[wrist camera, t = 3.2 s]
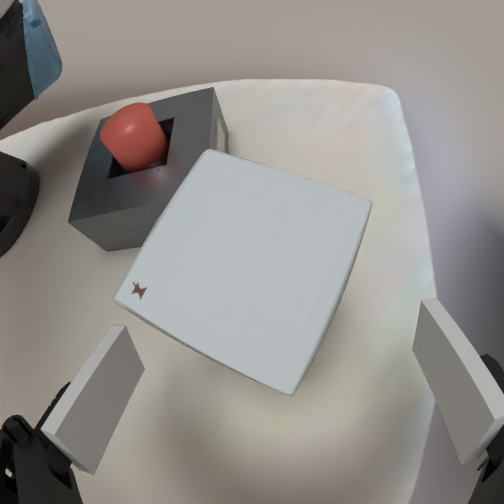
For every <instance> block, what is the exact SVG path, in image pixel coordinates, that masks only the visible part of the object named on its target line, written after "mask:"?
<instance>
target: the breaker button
mask: <svg viewBox="0 0 504 504" xmlns="http://www.w3.org/2000/svg"><path fill="white" fill-rule="evenodd" d="M100 139H101V141H102V142H103V143H104V145H105V146H106V147H107V149H108V150H109V151H110V152H111V154H112V155H113V156H114V157H115V159H116V160H117V161H118V163H119V164H120V165H121V166H122V168H123V169H124V170H125V171H126V173H127V174H130V173H134V172H138V171H142V170H146V169H151V168H155V167H159V166H164V165H167V159H168V153H169V146H170V143H169V141H168V139H167V138H166V136H165V134H164V132H163V130H162V129H161V127H160V125H159V123H158V121H157V120H156V118H155V116H154V114H153V112H152V110H151V109H150V107H149V105H147V104H145V103H134V104H130V105H128V106H125V107H123V108H122V109H120V110H118V111H117V112H116V113H114V114H113V115H112V116H111V117H110V118H109V119H108V120H107V121H106V122H105V124H104V125H103V127H102V129H101V132H100Z"/></svg>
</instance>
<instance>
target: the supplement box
mask: <svg viewBox="0 0 504 504" xmlns="http://www.w3.org/2000/svg"><path fill="white" fill-rule="evenodd" d="M371 207H372V202H371V200H369V199H366V198H363V197H360V196H358V195H355V194H352V193H350V192H347V191H344V190H341V189H338V188H336V187H333V186H330V185H327V184H324V183H321V182H318V181H315V180H312V179H309V178H306V177H303V176H300V175H296V174H293V173H290V172H287V171H283V170H280V169H276V168H273V167H270V166H266V165H263V164H260V163H257V162H254V161H250V160H247V159H244V158H241V157H237V156H234V155H230V154H227V153H223V152H219V151H216V150H213V149H207V150H206V151H205V152H203V153H202V155H201V156H200V157H199V159H198V160H197V162H196V163H195V164H194V166H193V167H192V169H191V171H190V172H189V174H188V175H187V177H186V178H185V179H184V181H183V182H182V184H181V185H180V187H179V188H178V190H177V191H176V193H175V194H174V196H173V197H172V199H171V200H170V202H169V204H168V205H167V207H166V208H165V210H164V211H163V213H162V214H161V216H160V217H159V218H158V220H157V222H156V223H155V225H154V227H153V228H152V230H151V232H150V234H149V236H148V237H147V239H146V240H145V242H144V244H143V246H142V247H141V249H140V251H139V252H138V254H137V256H136V258H135V259H134V261H133V263H132V265H131V266H130V268H129V270H128V271H127V273H126V275H125V277H124V279H123V281H122V282H121V284H120V286H119V288H118V289H117V291H116V292H115V294H114V296H113V300H114V302H115V303H117V304H118V305H120V306H121V307H123V308H124V309H126V310H127V311H129V312H130V313H132V314H133V315H135V316H136V317H138V318H140V319H141V320H143V321H144V322H146V323H148V324H149V325H151V326H152V327H154V328H156V329H157V330H159V331H161V332H162V333H164V334H166V335H167V336H169V337H171V338H173V339H174V340H176V341H178V342H180V343H181V344H183V345H185V346H187V347H189V348H190V349H192V350H194V351H196V352H198V353H200V354H202V355H204V356H205V357H207V358H209V359H211V360H213V361H215V362H217V363H219V364H221V365H223V366H225V367H227V368H229V369H231V370H233V371H235V372H237V373H240V374H242V375H244V376H246V377H248V378H250V379H253V380H255V381H257V382H259V383H261V384H264V385H266V386H268V387H271V388H273V389H275V390H277V391H280V392H282V393H284V394H287V395H289V396H291V395H293V394H294V393H295V391H296V390H297V388H298V386H299V385H300V383H301V381H302V379H303V377H304V376H305V374H306V372H307V370H308V368H309V366H310V365H311V363H312V361H313V359H314V357H315V355H316V353H317V351H318V349H319V347H320V345H321V343H322V341H323V339H324V336H325V334H326V332H327V330H328V328H329V326H330V323H331V321H332V319H333V317H334V314H335V312H336V310H337V307H338V305H339V303H340V300H341V298H342V295H343V293H344V290H345V287H346V285H347V282H348V280H349V277H350V274H351V271H352V268H353V266H354V263H355V260H356V257H357V254H358V251H359V248H360V245H361V241H362V238H363V235H364V232H365V228H366V225H367V221H368V218H369V215H370V211H371Z"/></svg>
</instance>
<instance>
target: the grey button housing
mask: <svg viewBox="0 0 504 504" xmlns="http://www.w3.org/2000/svg"><path fill="white" fill-rule="evenodd" d="M147 105H149V107H150V109H151V110H152V112H153V114H154V116H155V118H156V120H157V121H158V123H159V125H160V127H161V129H162V130H163V132H164V134H165V136H166V138H167V139H168V141H169V143H170V146H169V153H168V159H167V165H164V166H159V167H155V168H151V169H146V170H142V171H138V172H134V173H130V174H127V173H126V171H125V170H124V169H123V168H122V166H121V165H120V164H119V163H118V161H117V160H116V159H115V157H114V156H113V155H112V154H111V152H110V151H109V150H108V149H107V147H106V146H105V145H104V143H103V142H102V141H101V139H100V132H101V129H102V127H103V125H104V124H105V122H106V121H107V120H108V119H109V118H110V117H111V116H109V117H106V118H104V119H101V120H100V123H99V125H98V128H97V130H96V133H95V136H94V138H93V141H92V144H91V146H90V149H89V152H88V155H87V158H86V161H85V164H84V167H83V170H82V173H81V176H80V180H79V183H78V186H77V190H76V193H75V197H74V201H73V204H72V208H71V212H70V216H69V220H68V223H69V224H71V225H72V226H73V227H75V228H76V229H77V230H79V231H80V232H81V233H83V234H84V235H85V236H87V237H88V238H89V239H91V240H92V241H93V242H95V243H96V244H97V245H99V246H100V247H102V248H103V249H104V250H106V251H112V250H119V249H126V248H133V247H140V246H143V244H144V242H145V240H146V239H147V237H148V236H149V234H150V232H151V230H152V228H153V227H154V225H155V223H156V222H157V220H158V218H159V217H160V216H161V214H162V213H163V211H164V210H165V208H166V207H167V205H168V204H169V202H170V200H171V199H172V197H173V196H174V194H175V193H176V191H177V190H178V188H179V187H180V185H181V184H182V182H183V181H184V179H185V178H186V177H187V175H188V174H189V172H190V171H191V169H192V167H193V166H194V164H195V163H196V162H197V160H198V159H199V157H200V156H201V155H202V153H203V152H205V151H206V150H207V149H213V150H216V151H219V152H223V153H227V154H228V130H227V127H226V124H225V120H224V117H223V114H222V111H221V108H220V105H219V102H218V99H217V96H216V93H215V90H214V87H212V88H207V89H202V90H198V91H193V92H189V93H185V94H181V95H177V96H173V97H169V98H166V99H162V100H159V101H155V102H152V103H148V104H147Z"/></svg>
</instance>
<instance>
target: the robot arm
mask: <svg viewBox="0 0 504 504" xmlns="http://www.w3.org/2000/svg"><path fill="white" fill-rule="evenodd" d="M61 72H62V61H61V58H60V55H59V52H58V49H57V47H56V44H55V41H54V38H53V36H52V33H51V31H50V28H49V26H48V23H47V21H46V19H45V16H44V14H43V11H42V9H41V7H40V5H39V4H38V2H37V0H24V1H23V3H20V2H19V0H0V131H2V129H3V128H4V127H5V126H6V125H7V124H8V123H10V122H11V121H12V120H13V118H15V117H16V116H17V115H18V114H19V113H20V112H21V111H22V110H23V109H24V108H25V107H27V106H28V105H29V104H30V103H31V102H32V101H33V100H37V99H38V98H39V96H40V95H41V94H42V93H43V92H44V91H45V90H46V89H47V88H48V87H49V86H51V85H52V84H53V83H54V82H55V81H57V79H58V78H59V76H60V74H61ZM38 189H39V175H38V172H37V171H36V170H35V169H34V168H33V167H32V166H31V165H30V164H29V163H27V162H26V161H24V160H21V159H19V158H16V157H13V156H11V155H8V154H6V153H3V152H1V151H0V256H1V255H2V254H4V253H5V252H6V251H7V250H8V249H9V248H10V246H11V245H12V244H13V243H14V241H15V240H16V239H17V237H18V236H19V234H20V233H21V231H22V229H23V228H24V226H25V224H26V222H27V220H28V218H29V216H30V214H31V211H32V209H33V206H34V204H35V201H36V198H37V194H38ZM412 350H413V352H414V354H415V356H416V358H417V360H418V362H419V364H420V366H421V369H422V371H423V373H424V375H425V377H426V379H427V381H428V383H429V386H430V388H431V390H432V392H433V394H434V397H435V399H436V401H437V403H438V406H439V408H440V410H441V413H442V415H443V418H444V420H445V422H446V425H447V427H448V430H449V432H450V435H451V437H452V440H453V442H454V445H455V448H456V451H457V453H458V456H459V459H460V462H461V465H463V464H466V463H468V462H470V461H473V460H475V459H477V458H479V457H480V456H481V455H482V453H483V452H484V451H485V450H487V453H488V456H487V458H486V459H485V460H484V461H483V462H482V463H481V464H480V466H479V467H478V469H477V470H478V471H479V470H480V469H481V468H482V467H483V469H482V471H481V474H480V476H479V479H478V481H477V484H476V486H475V489H474V491H473V494H472V496H471V498H470V500H469V502H468V504H504V372H503V369H502V368H501V366H500V365H499V363H498V362H497V361H496V360H495V359H493V358H492V357H491V356H489V355H488V354H485V355H482V356H478V354H477V352H476V351H475V350H474V348H473V346H472V345H471V344H470V342H469V341H468V340H467V338H466V337H465V335H464V334H463V332H462V331H461V330H460V329H459V327H458V326H457V324H456V323H455V322H454V320H453V319H452V318H451V317H450V315H449V314H448V313H447V311H446V310H445V309H444V307H443V306H442V305H441V303H440V302H439V301H438V300H437V298H431V299H426V300H421V304H420V310H419V317H418V322H417V328H416V333H415V338H414V343H413V348H412ZM144 369H145V368H144V366H143V364H142V362H141V360H140V358H139V355H138V353H137V351H136V349H135V347H134V344H133V342H132V340H131V337H130V335H129V333H128V330H127V328H126V326H116V325H113V326H112V327H111V328H110V330H109V331H108V332H107V334H106V335H105V336H104V338H103V339H102V340H101V342H100V343H99V344H98V346H97V347H96V348H95V350H94V351H93V353H92V354H91V355H90V357H89V358H88V359H87V361H86V362H85V364H84V365H83V366H82V368H81V369H80V371H79V372H78V374H77V375H76V376H75V378H74V379H73V381H72V382H69V383H67V384H66V385H65V386H64V387H63V388H61V390H60V391H59V392H58V394H57V395H56V397H55V399H54V400H53V401H52V403H51V406H49V407H48V409H47V410H46V412H45V413H44V415H43V416H42V418H41V419H40V421H39V422H38V424H37V425H36V427H35V428H34V430H33V428H32V427H31V426H30V425H29V424H28V423H27V421H26V420H25V419H24V418H23V417H22V416H20V415H13V416H11V417H9V418H8V419H7V420H6V421H5V422H4V424H3V425H2V429H0V504H83V503H82V500H81V496H80V493H79V490H78V487H77V483H76V480H75V476H74V473H73V471H72V469H71V468H70V465H71V463H73V464H74V465H75V466H76V467H77V468H78V469H79V470H82V471H85V472H87V473H90V474H93V475H94V474H95V471H96V469H97V467H98V465H99V463H100V460H101V458H102V456H103V454H104V452H105V449H106V447H107V445H108V443H109V441H110V439H111V437H112V435H113V432H114V430H115V428H116V426H117V424H118V422H119V420H120V418H121V416H122V414H123V412H124V410H125V407H126V405H127V403H128V401H129V399H130V397H131V395H132V393H133V391H134V389H135V387H136V385H137V383H138V381H139V379H140V377H141V375H142V373H143V371H144ZM6 468H7V469H8V470H9V471H10V472H11V473H12V476H11V478H10V477H9V476H8V475H7V474H5V472H6Z"/></svg>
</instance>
